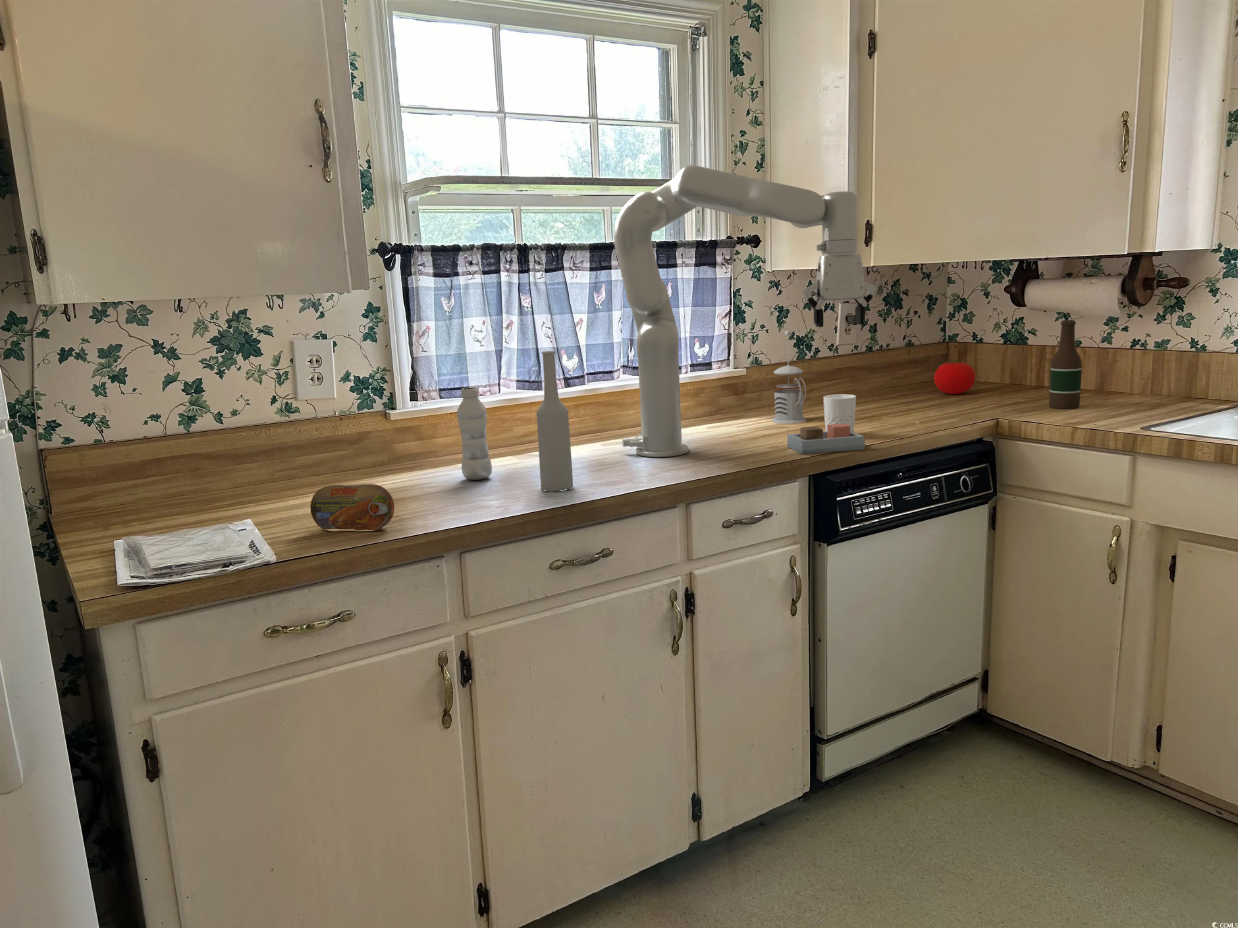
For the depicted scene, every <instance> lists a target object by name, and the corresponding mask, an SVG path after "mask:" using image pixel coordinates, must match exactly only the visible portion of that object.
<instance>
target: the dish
mask: <svg viewBox="0 0 1238 928" xmlns="http://www.w3.org/2000/svg"><path fill="white" fill-rule="evenodd" d="M786 436H787V440H786V441H787V442H786V444H787V447H788V448H789V449H792V450H793V451H794V452H797V453H798V454H799V453H800V454H801V455H809V454H810V455H811V454H823V453H824V454H825V453H834V452H835V453H836V452H844V451H845V452H846V451H859V450H865V443H866V442H865V440H866V439H865V437H866V436H864V435H862V434H859V433H856V432H852V431H850V437H838V438H827V431H826V430H823V439H813V440H804V439H802V438H800V433H788V434H787V435H786Z"/></svg>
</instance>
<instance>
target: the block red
mask: <svg viewBox="0 0 1238 928" xmlns="http://www.w3.org/2000/svg"><path fill="white" fill-rule="evenodd" d="M838 437H850V426H849V425H846V424H830V425H827V438H838Z"/></svg>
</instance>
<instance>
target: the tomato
mask: <svg viewBox="0 0 1238 928" xmlns="http://www.w3.org/2000/svg"><path fill="white" fill-rule="evenodd" d="M933 381H934V384H935V386H936V387H937V389H938V390H939V391H940V392H942V393H943V394H944V393H945V394H947V395H961V394H963V393H965V392H967V391H968V390H970V389H971V388H972V387H973V386H974V384H975V381H976V371H975V370H974V368H973V366H971V365H970V364H968V363H967V362H962V361H957V360H953V361H947V362H946V361H945V362H944V363H942V364H941V365H939V366H938V367H937V368H936V370H935V373H934V376H933Z"/></svg>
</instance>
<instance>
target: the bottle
mask: <svg viewBox="0 0 1238 928" xmlns="http://www.w3.org/2000/svg"><path fill="white" fill-rule="evenodd" d="M540 354H541V355H542V367H543V383H544V384H543V394H544V395H543V396H544V397H543V401H542V402H541V404H540V405H539V407H538V408H537V411H536V424H537V442H538V444H537V445H538V457H539V458H538V460H539V462H538V463H539V477H540V490H541V489H543V490H546V491H545V492H547V491H560V490H565V489H570V488H572V487H573V488H574V480H573V479H574V478H573V463H572V450H571V449H572V447H571V433H570V419H569V410H568V408H567V407H566V406H565V404H564V403H563V402H562V401H561V399H560V397H559V390H558V382H557V369H556V356H555V355H556V351H555V350H543V351H541V353H540ZM573 488H572V489H573ZM570 490H571V489H570ZM560 492H561V491H560Z"/></svg>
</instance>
